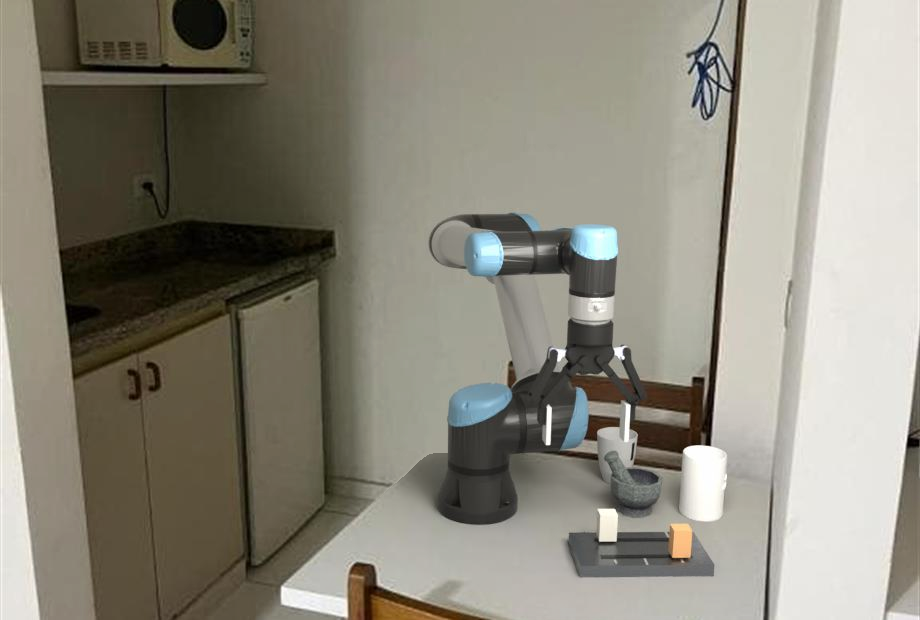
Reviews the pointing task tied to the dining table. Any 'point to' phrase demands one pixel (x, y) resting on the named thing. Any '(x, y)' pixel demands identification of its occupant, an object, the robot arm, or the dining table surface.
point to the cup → (615, 449)
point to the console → (636, 556)
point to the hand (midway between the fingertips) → (585, 440)
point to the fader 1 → (607, 525)
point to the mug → (703, 483)
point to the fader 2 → (680, 540)
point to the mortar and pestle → (633, 487)
